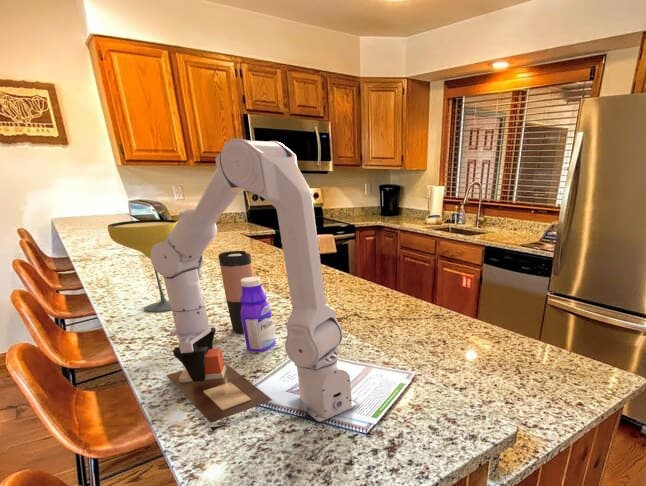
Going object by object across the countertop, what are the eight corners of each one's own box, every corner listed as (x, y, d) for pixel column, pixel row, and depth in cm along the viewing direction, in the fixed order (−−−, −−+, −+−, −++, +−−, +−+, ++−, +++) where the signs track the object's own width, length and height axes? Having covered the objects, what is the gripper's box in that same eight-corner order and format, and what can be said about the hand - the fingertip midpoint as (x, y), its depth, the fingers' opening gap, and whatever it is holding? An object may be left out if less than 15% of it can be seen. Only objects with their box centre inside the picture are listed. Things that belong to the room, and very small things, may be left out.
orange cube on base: (226, 368, 89) (222, 347, 87) (223, 378, 85) (218, 356, 83) (185, 372, 87) (179, 351, 85) (179, 382, 83) (174, 360, 81)
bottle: (265, 358, 97) (254, 283, 89) (243, 356, 98) (229, 282, 90) (280, 346, 103) (270, 275, 96) (259, 344, 104) (247, 274, 97)
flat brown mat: (273, 406, 77) (272, 398, 77) (212, 430, 71) (210, 421, 70) (221, 365, 93) (220, 358, 93) (167, 381, 87) (165, 374, 86)
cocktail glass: (134, 302, 137) (111, 221, 126) (196, 295, 144) (179, 218, 133) (128, 319, 122) (101, 229, 111) (197, 310, 129) (178, 224, 118)
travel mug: (228, 334, 111) (212, 256, 102) (237, 324, 117) (224, 250, 109) (257, 333, 111) (245, 256, 102) (265, 323, 118) (254, 250, 109)
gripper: (174, 297, 85) (189, 359, 91) (153, 321, 73) (172, 391, 78) (212, 295, 87) (224, 355, 92) (197, 318, 74) (212, 386, 80)
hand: (203, 371), depth 85 cm, fingers open, 7 cm apart
